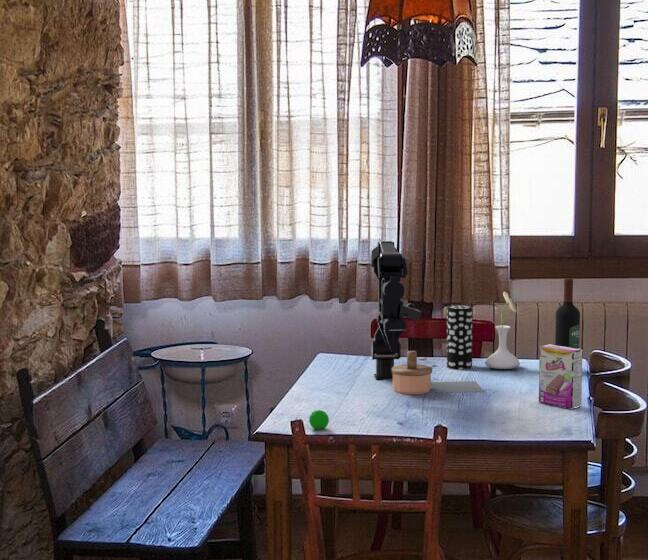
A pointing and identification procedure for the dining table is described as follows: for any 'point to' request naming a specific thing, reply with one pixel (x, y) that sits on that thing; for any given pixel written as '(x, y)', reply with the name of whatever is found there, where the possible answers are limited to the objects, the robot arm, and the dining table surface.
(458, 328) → the spotted tube
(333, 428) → the dining table surface
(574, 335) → the wine bottle
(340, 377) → the dining table surface
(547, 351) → the candy bar box
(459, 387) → the mat
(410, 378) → the bowl
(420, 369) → the lid
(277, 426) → the dining table surface
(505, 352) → the flower in vase
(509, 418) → the dining table surface
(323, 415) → the green ball
